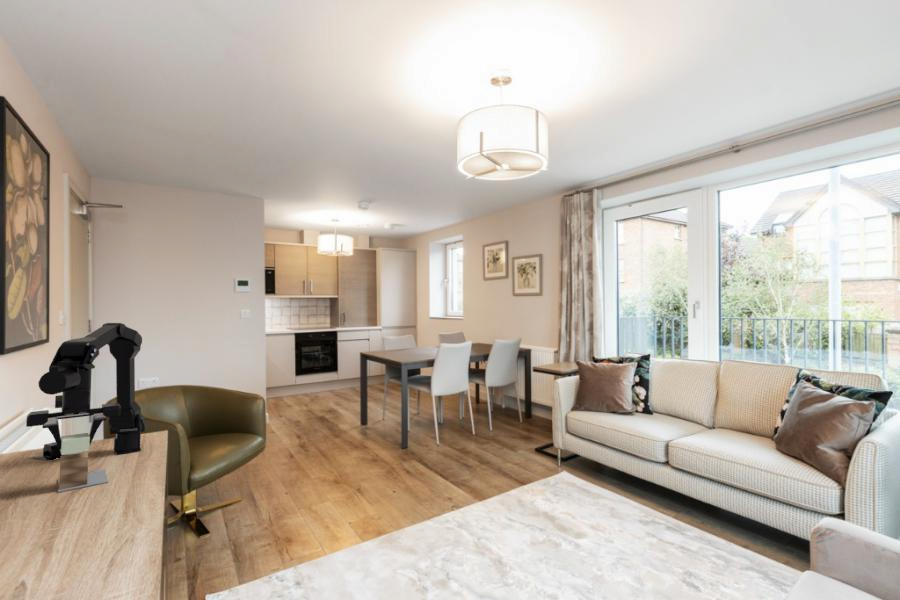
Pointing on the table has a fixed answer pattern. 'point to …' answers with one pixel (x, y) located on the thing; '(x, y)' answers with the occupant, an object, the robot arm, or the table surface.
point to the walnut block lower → (73, 480)
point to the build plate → (50, 452)
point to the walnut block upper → (73, 463)
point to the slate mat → (90, 480)
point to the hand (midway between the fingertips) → (74, 446)
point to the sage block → (75, 443)
